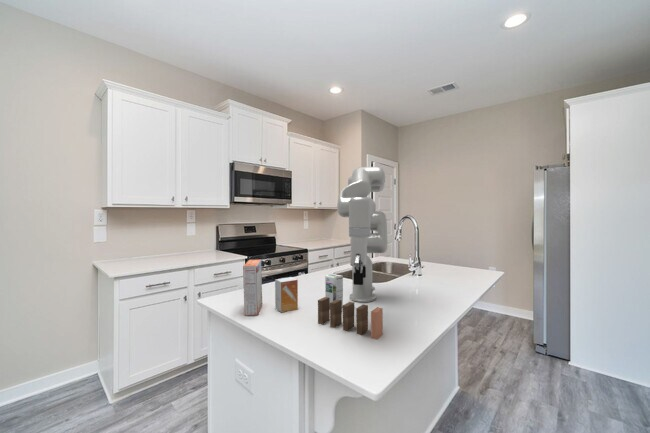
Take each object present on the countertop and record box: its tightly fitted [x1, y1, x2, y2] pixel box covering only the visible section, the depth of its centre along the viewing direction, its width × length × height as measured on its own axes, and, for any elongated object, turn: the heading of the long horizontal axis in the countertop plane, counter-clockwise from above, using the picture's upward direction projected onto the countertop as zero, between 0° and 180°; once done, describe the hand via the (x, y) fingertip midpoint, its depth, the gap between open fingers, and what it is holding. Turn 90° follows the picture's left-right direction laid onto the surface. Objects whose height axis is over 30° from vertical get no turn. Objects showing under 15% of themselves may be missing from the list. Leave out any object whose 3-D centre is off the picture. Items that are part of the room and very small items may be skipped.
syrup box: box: [324, 273, 344, 309], centre depth 126 cm, size 6×6×14 cm
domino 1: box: [317, 296, 330, 326], centre depth 111 cm, size 2×5×9 cm, turn 145°
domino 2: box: [329, 299, 343, 329], centre depth 108 cm, size 2×5×9 cm, turn 145°
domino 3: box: [342, 301, 356, 333], centre depth 104 cm, size 2×5×9 cm, turn 145°
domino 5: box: [370, 306, 384, 340], centre depth 98 cm, size 2×5×9 cm, turn 145°
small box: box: [274, 276, 299, 313], centre depth 126 cm, size 8×6×13 cm
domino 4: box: [355, 304, 369, 336], centre depth 101 cm, size 2×5×9 cm, turn 145°
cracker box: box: [242, 259, 263, 317], centre depth 124 cm, size 14×6×21 cm, turn 5°
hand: (359, 280), depth 102 cm, fingers open, 9 cm apart
